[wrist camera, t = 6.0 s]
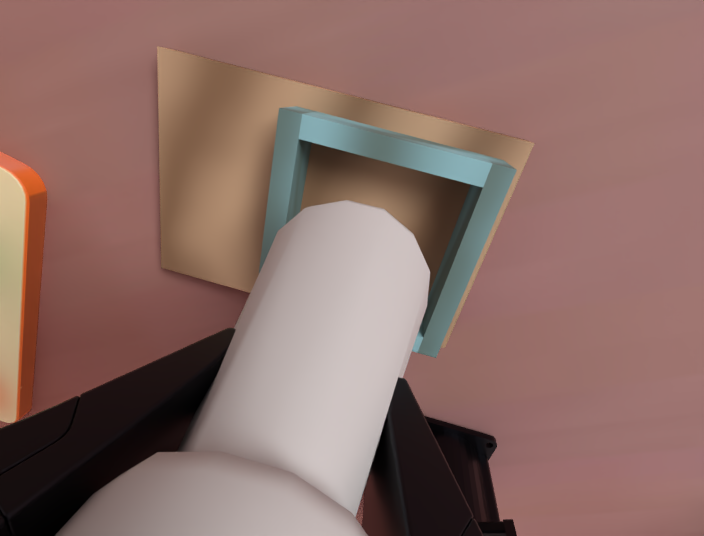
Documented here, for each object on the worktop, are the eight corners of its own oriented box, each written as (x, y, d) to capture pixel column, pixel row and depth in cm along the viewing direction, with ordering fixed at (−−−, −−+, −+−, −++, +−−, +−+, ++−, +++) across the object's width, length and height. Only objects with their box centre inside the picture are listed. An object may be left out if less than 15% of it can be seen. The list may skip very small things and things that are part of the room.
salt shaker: (262, 260, 16) (-191, 725, 4) (342, 153, 13) (-215, 535, 2) (367, 340, 16) (244, 917, 5) (459, 253, 14) (662, 982, 2)
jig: (526, 140, 17) (553, 151, 14) (443, 336, 23) (447, 377, 19) (172, 49, 18) (118, 39, 15) (172, 259, 24) (133, 286, 20)
